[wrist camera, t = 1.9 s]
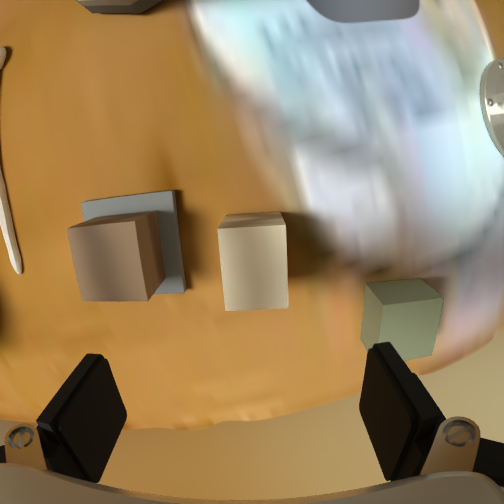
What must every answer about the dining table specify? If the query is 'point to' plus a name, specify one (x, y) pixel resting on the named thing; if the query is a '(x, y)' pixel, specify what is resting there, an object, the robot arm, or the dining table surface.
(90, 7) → the liquor
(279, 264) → the birch block
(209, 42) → the dining table surface
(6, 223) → the knobbed tapering rod
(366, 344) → the olive block
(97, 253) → the walnut block
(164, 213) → the slate board
